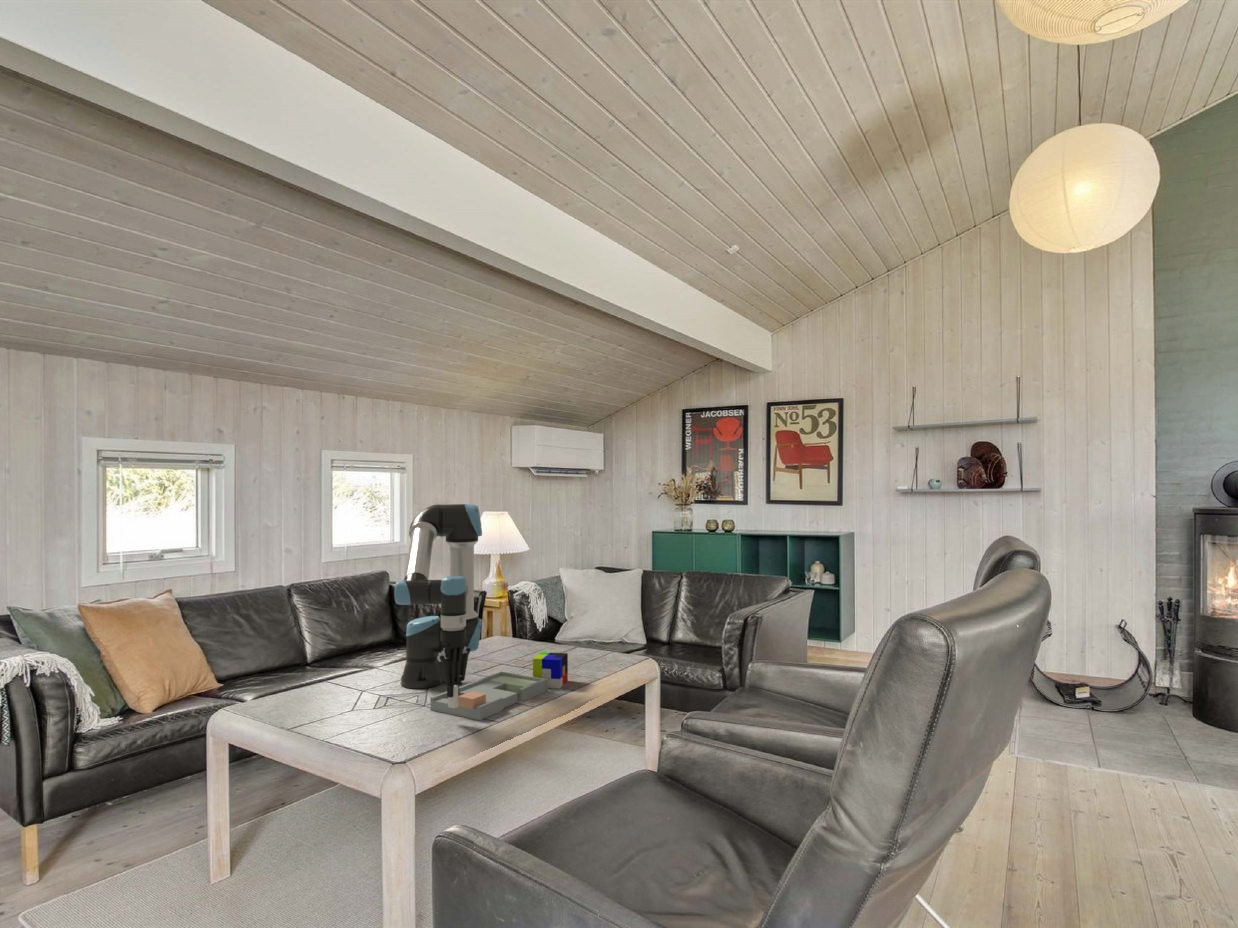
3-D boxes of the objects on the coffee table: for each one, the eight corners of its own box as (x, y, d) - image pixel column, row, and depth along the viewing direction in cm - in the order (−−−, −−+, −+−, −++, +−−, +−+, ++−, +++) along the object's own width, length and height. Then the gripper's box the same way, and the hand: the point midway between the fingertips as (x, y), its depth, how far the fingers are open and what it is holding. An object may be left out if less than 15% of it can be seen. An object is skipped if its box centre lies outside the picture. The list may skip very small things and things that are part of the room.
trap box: (430, 709, 221) (430, 697, 221) (501, 682, 252) (501, 671, 252) (479, 720, 211) (479, 707, 211) (547, 690, 242) (547, 679, 242)
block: (458, 705, 215) (458, 696, 216) (471, 700, 221) (471, 691, 221) (472, 708, 212) (472, 699, 213) (485, 703, 218) (485, 693, 218)
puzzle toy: (559, 688, 245) (559, 659, 245) (532, 686, 247) (532, 658, 247) (567, 680, 254) (567, 653, 255) (541, 679, 256) (541, 652, 257)
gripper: (447, 633, 203) (446, 715, 202) (477, 625, 214) (477, 702, 213) (428, 630, 206) (428, 710, 206) (459, 623, 218) (458, 699, 217)
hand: (453, 706), depth 209 cm, fingers closed
